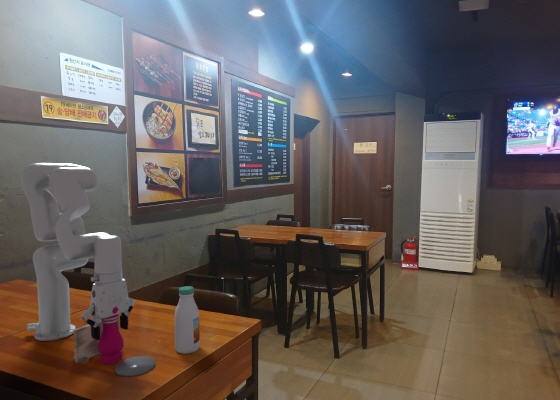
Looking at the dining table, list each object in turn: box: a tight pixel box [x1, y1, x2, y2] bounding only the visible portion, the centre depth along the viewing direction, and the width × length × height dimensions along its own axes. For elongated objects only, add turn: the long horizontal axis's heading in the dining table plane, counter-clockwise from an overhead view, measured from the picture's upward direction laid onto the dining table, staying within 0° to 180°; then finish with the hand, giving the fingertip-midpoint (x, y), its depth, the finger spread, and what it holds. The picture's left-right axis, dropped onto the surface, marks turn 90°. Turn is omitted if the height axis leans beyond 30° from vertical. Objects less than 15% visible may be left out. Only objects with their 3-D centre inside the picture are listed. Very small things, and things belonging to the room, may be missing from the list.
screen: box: [72, 319, 120, 365], centre depth 121 cm, size 14×5×10 cm, turn 146°
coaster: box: [114, 355, 156, 377], centre depth 113 cm, size 11×11×1 cm
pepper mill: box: [98, 306, 125, 365], centre depth 117 cm, size 7×7×20 cm
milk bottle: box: [174, 285, 201, 355], centre depth 124 cm, size 8×8×20 cm
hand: (110, 333), depth 117 cm, fingers open, 8 cm apart
